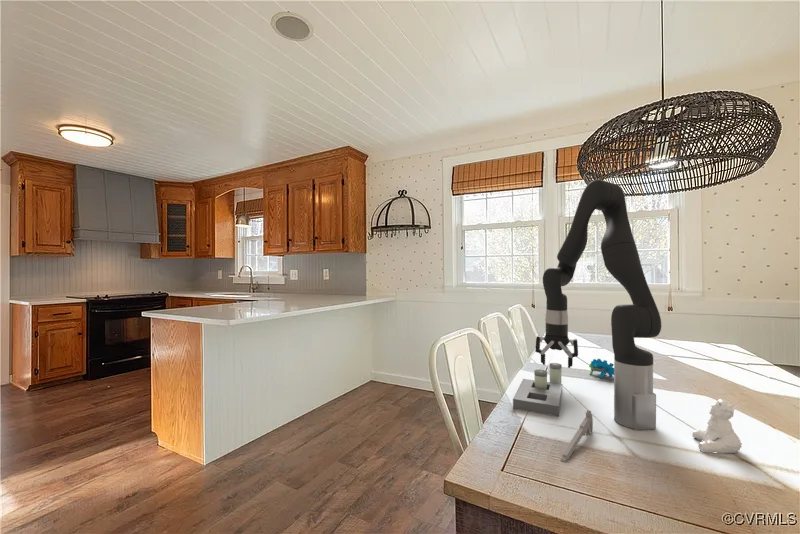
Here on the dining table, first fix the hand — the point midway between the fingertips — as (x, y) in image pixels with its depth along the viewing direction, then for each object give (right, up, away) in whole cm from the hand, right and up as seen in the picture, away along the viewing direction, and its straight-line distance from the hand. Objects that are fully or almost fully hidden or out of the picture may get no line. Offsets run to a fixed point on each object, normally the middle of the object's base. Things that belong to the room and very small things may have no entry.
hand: (556, 365), depth 132 cm
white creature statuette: (+20, -8, -45) cm, 49 cm away
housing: (-12, -7, -14) cm, 20 cm away
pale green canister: (-1, -7, 0) cm, 7 cm away
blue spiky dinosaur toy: (+24, -8, +11) cm, 27 cm away
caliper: (-14, -8, -43) cm, 46 cm away
